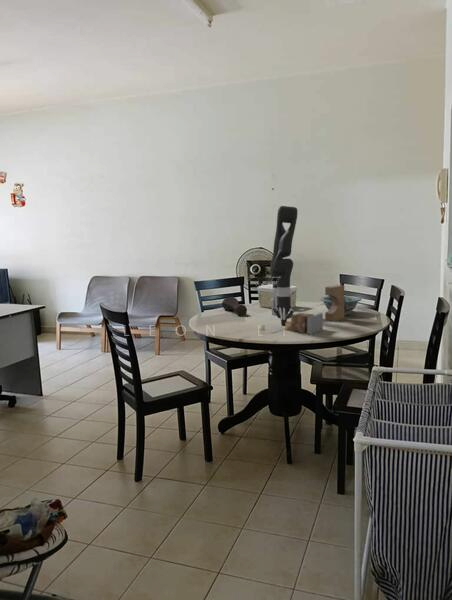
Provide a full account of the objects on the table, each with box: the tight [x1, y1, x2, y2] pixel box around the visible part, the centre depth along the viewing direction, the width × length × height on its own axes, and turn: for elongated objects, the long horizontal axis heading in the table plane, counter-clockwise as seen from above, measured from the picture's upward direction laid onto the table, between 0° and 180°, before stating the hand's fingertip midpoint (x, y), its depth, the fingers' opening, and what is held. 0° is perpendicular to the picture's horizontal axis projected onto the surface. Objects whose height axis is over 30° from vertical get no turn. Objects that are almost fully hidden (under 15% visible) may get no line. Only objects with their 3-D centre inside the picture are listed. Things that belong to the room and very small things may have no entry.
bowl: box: [320, 295, 362, 316], centre depth 302 cm, size 25×25×10 cm
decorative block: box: [324, 284, 345, 322], centre depth 282 cm, size 11×6×20 cm, turn 124°
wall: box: [306, 312, 324, 335], centre depth 254 cm, size 2×14×9 cm, turn 144°
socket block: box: [290, 312, 314, 333], centre depth 259 cm, size 8×10×8 cm
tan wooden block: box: [284, 320, 291, 331], centre depth 261 cm, size 10×4×4 cm, turn 53°
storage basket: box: [257, 283, 298, 309], centre depth 333 cm, size 24×16×15 cm
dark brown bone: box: [221, 296, 248, 317], centre depth 318 cm, size 11×10×28 cm
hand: (284, 326), depth 265 cm, fingers closed
